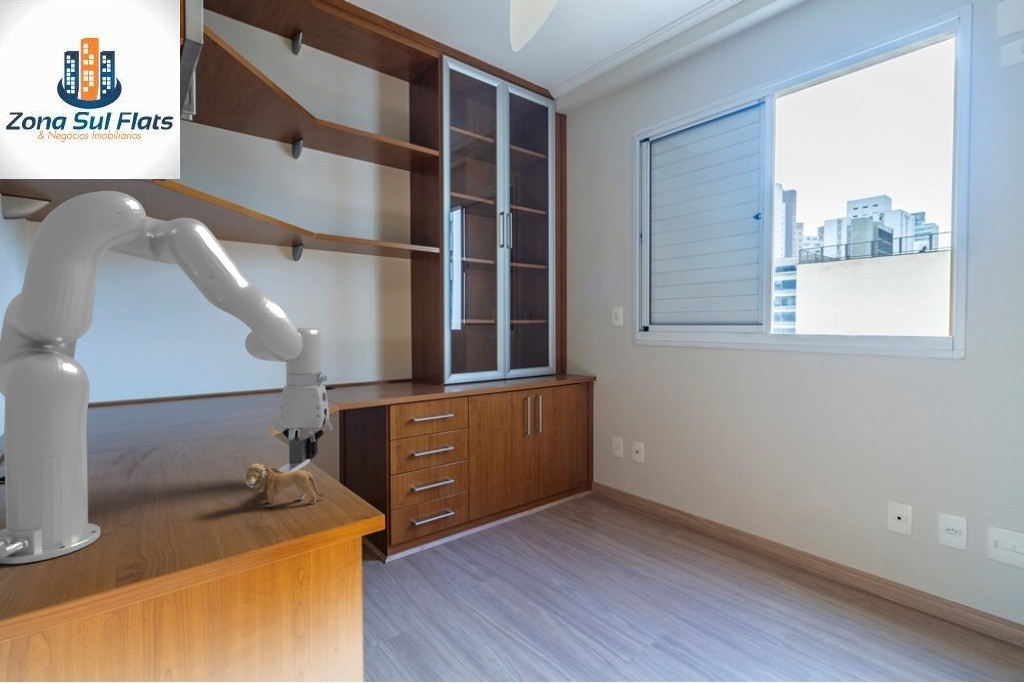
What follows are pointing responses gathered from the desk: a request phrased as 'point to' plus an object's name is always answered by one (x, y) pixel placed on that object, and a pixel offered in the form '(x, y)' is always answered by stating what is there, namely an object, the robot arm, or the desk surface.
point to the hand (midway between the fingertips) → (304, 456)
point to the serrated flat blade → (297, 454)
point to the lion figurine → (279, 481)
